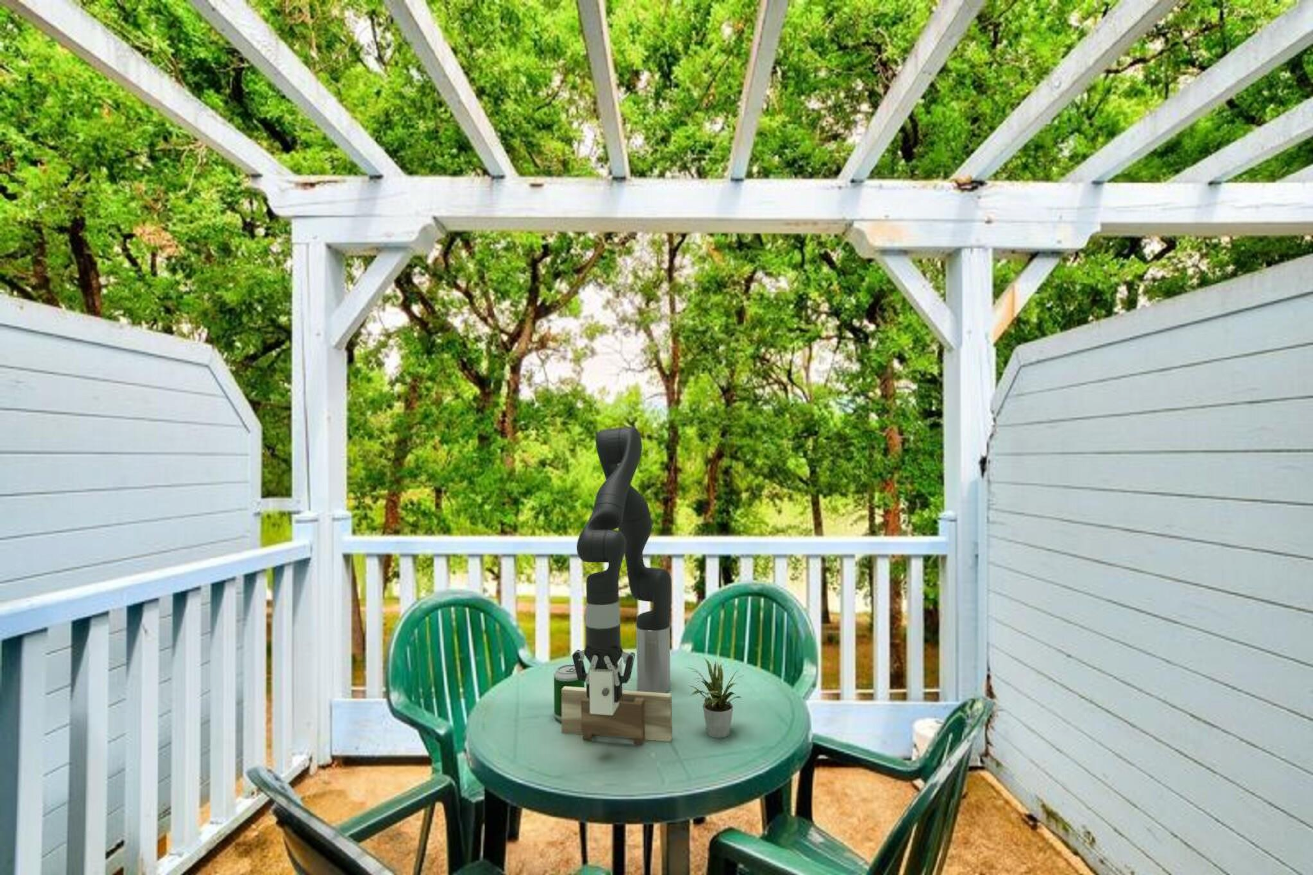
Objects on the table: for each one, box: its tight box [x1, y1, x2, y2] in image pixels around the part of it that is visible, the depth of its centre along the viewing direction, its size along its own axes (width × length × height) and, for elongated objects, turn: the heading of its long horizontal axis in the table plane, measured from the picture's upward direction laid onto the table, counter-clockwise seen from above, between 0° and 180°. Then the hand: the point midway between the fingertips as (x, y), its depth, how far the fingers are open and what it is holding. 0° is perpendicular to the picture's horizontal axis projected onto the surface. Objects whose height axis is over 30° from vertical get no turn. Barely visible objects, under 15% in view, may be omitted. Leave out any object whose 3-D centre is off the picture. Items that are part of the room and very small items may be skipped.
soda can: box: [553, 664, 586, 723], centre depth 148 cm, size 8×8×12 cm
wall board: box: [561, 686, 673, 746], centre depth 137 cm, size 5×26×10 cm, turn 78°
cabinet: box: [589, 658, 623, 715], centre depth 130 cm, size 9×5×9 cm, turn 168°
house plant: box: [684, 657, 743, 739], centre depth 140 cm, size 14×14×16 cm
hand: (604, 699), depth 129 cm, fingers closed on cabinet, 5 cm apart
